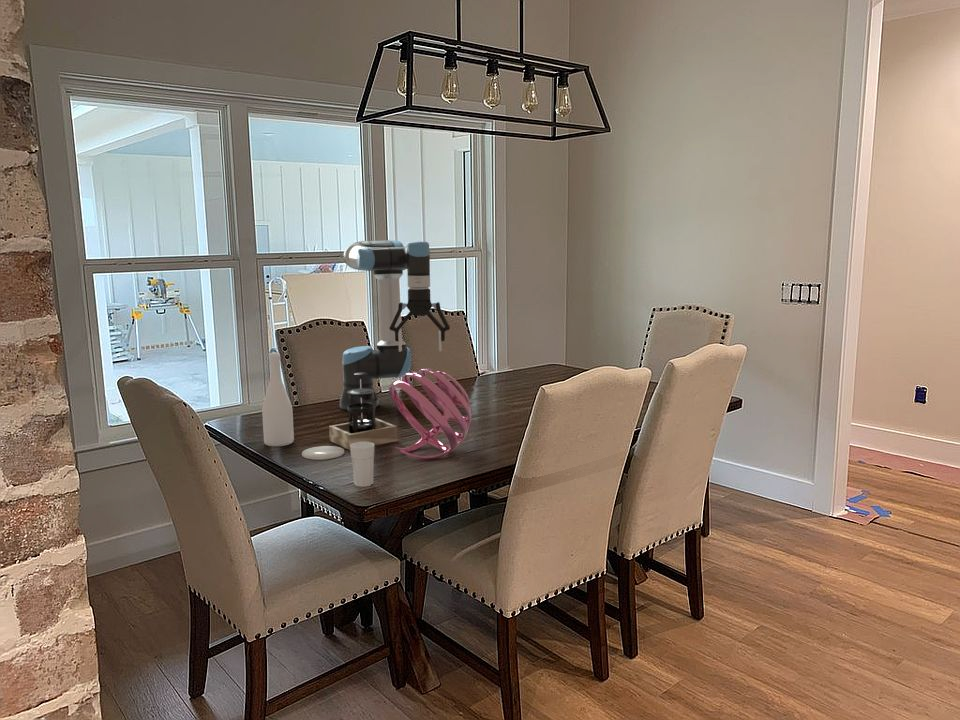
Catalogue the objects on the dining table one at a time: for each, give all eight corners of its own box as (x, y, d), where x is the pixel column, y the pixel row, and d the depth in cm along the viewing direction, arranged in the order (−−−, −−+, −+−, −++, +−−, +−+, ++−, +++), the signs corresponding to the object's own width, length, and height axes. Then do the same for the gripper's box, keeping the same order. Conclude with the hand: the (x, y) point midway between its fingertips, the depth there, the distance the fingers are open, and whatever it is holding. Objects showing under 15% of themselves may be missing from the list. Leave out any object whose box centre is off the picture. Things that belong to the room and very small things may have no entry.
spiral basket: (375, 407, 215) (444, 346, 224) (352, 409, 240) (414, 355, 250) (437, 480, 220) (501, 418, 229) (408, 475, 245) (467, 419, 255)
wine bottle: (269, 439, 255) (264, 350, 250) (297, 439, 254) (292, 350, 249) (260, 447, 245) (254, 355, 240) (289, 447, 245) (284, 355, 240)
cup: (362, 489, 205) (360, 449, 203) (346, 484, 209) (344, 445, 208) (380, 483, 210) (379, 444, 208) (365, 478, 214) (363, 440, 212)
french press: (367, 446, 245) (364, 376, 241) (341, 444, 248) (339, 374, 244) (384, 437, 256) (382, 370, 252) (359, 435, 259) (357, 368, 255)
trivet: (295, 452, 239) (294, 450, 239) (332, 445, 247) (332, 443, 247) (313, 462, 229) (313, 460, 229) (351, 454, 237) (351, 452, 237)
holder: (329, 440, 252) (329, 426, 252) (375, 431, 263) (375, 417, 262) (350, 450, 241) (349, 435, 240) (397, 440, 252) (397, 426, 251)
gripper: (380, 289, 251) (382, 352, 255) (455, 288, 251) (456, 352, 254) (383, 287, 258) (385, 349, 262) (456, 287, 258) (457, 348, 262)
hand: (420, 350), depth 258 cm, fingers open, 13 cm apart
